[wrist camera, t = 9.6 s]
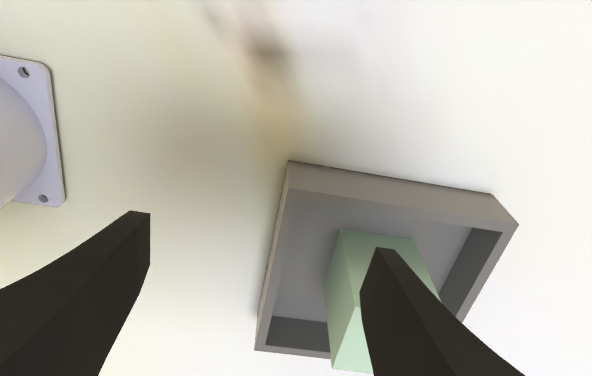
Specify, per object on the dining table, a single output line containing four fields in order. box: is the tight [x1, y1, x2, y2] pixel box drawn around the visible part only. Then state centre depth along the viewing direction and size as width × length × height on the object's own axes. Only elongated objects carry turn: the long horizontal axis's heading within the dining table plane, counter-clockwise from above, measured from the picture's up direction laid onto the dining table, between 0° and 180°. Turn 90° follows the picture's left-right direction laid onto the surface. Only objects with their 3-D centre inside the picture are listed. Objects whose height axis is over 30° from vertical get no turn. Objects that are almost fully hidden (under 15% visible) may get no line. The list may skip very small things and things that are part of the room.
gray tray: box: [254, 160, 519, 359], centre depth 23 cm, size 12×12×3 cm
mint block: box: [323, 229, 442, 373], centre depth 21 cm, size 4×4×6 cm
